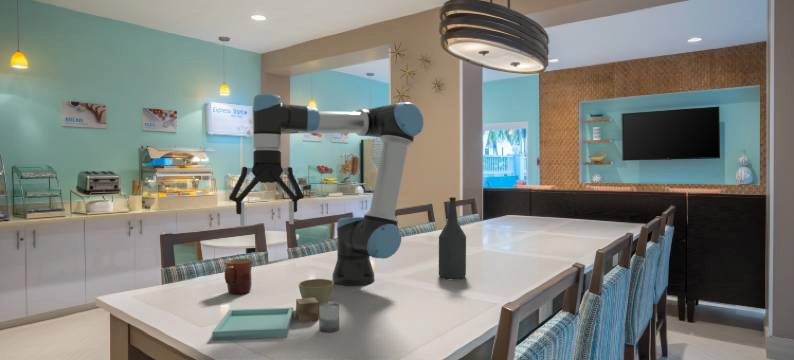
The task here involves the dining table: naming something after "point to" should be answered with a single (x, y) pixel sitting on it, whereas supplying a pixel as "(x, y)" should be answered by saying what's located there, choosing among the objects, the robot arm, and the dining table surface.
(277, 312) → the tray
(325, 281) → the flower pot
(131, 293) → the dining table surface
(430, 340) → the dining table surface
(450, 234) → the bottle
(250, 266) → the mug
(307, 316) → the walnut block
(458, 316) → the dining table surface
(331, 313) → the grey tin
